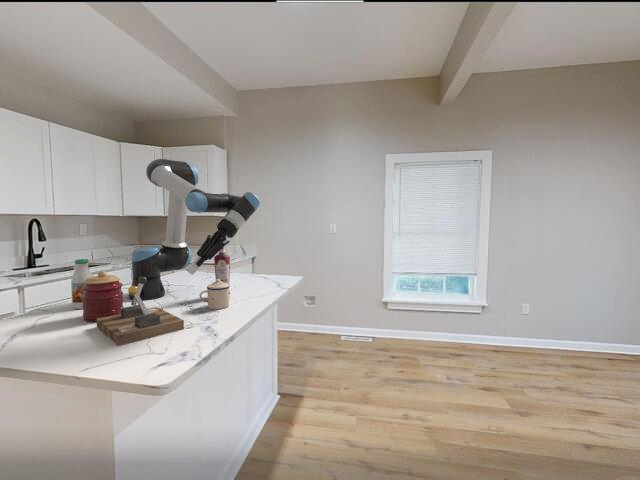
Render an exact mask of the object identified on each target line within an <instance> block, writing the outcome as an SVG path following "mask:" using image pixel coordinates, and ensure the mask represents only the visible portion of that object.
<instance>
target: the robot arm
mask: <svg viewBox="0 0 640 480" xmlns="http://www.w3.org/2000/svg"><path fill="white" fill-rule="evenodd" d="M145 173H146V174H145V175H146V177H147V179H148V180H149V182H150V183H152V184H153V185H154V186H156V187H159V188H162V189H165V190H166V191H167V192H168V205H167V207H168V208H167V222H166V233H165V241H163V242H162V244H161V247H160V246H159V245H149V246H142V247H141V246H140V247H138V248H135V249H134V250H133V251H132V252H131V269H132V270H131V272H132V283H131V286H136V287H138V284H139V282H138V279H139V278H140V277H142V276H144V277H146V278H147V282H146V283H145V284H144V285H143V287H142V290H141V292H140V295H139V296H140V298H141V300H142V301H145V300H153V299H154V300H155V299H158V298H159V299H160V298H162V297H165V295H166V289H165V287H164V285H163V282H162V280H161V278H162V277H161V273H166V272H172V271H180V270H184V269H186V270H185V271H187V272H188V273H189V274H190V275H192V276H193V275H195V273H196V272H197V271H198V270H199V269H200V268H201V266H202V265H204V263H205V262H206V261H211V260H212V258H214V257H215V256H216V255H218V254H219V251H220V250H221V249H222V248H223V247H224V246H225V247H226V246H227V245H229V243H230V242H231V241H230V240H229V238H230V239H233V238H234V237H235V236H236V234H237V233H238V232H239V230H240V229H241V228H243V226H244V224H245V223H247V221H248V220H249V219H250V218H251V217H252V215H253V214H254V213H255V212H256V211H257V209H258V208H259V206H260V205H261V201H260V198H259V197H258V196H257V195H256V194H255V193H253V192H252V191H246V192H245V193H244V194H242V196H238V195H233V194H230V193H211V192H210V193H209V192H205V191H203V190H202V189H200V188H198V187H197V185H198V183H199V179H200V178H199V177H200V175H199V172H198V169H197V168H196V166H195V165H194V164H192V163H191V162H186V161H180V160H173V159H172V160H171V159H165V158H157V159H154V160H151V162H150V163H148V165H147V166H146V170H145ZM188 211H189V212H191V213H197V214H201V213H215V214H216V213H222V214H223V213H225V215H224V216H223V218H222V219H220V221H219V222H218V223H217V225H216V227H217V230H216V231H215V232H214V233H213V234H212V235H211V234H208V235H207V237H206V239H205V240H204V242H203V243H202V245H201V246H200V247H199V249H198V250H197V252H196V255H197V257H196V258H194V260H193V261H192V255H193V254H192V252H191V251H192V250H191V249H190V247H189V246H188V243H187V242H186V241H185V240H186V230H187V229H186V228H187V218H188V215H187V214H188ZM131 286H130V287H131ZM128 298H129V300H133V298H134V296H133V295H131V294H130V293H129V292H128Z"/></svg>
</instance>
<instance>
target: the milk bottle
mask: <svg viewBox="0 0 640 480" xmlns="http://www.w3.org/2000/svg"><path fill="white" fill-rule="evenodd" d="M74 266H75V268H74V269H75V270H74V272H73V273H72V277H71V285H70V286H71V303H72V304H71V305H72V306H71V307H72V309H75V310H83V299H82V296H83V290H82V289H81V288H82V287H83V286H85V284H86V283H84V281H85V280H87V279H88V278H89V277H93V273H92V272H91V270H90V269H89V268H90V267H89V259H88V258H81V259H80V258H79V259H75V260H74Z"/></svg>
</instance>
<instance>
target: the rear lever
mask: <svg viewBox="0 0 640 480" xmlns="http://www.w3.org/2000/svg"><path fill="white" fill-rule="evenodd" d="M138 282H139V284H138V287H137V288H138V292H137V293H138V294H139V295H140V292H141V290H142V287H143V285H144V284H145V283H146V282H147V278H146V277H144V276H142V277H140V278H139V279H138ZM131 300H132V299H131ZM137 304H138V303H137V301H136V299H135V298H133V300H132V301H131V304H130V306H136V305H137Z"/></svg>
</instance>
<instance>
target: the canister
mask: <svg viewBox="0 0 640 480" xmlns="http://www.w3.org/2000/svg"><path fill="white" fill-rule="evenodd" d="M120 280H121V278H120V277H118V276H116V275H113V274H107V272H106V271H104V270H100V271H98V273H97V275H94V276H93V277H89V278H88V279H87V280H85V281H84V283H86V284H85V286H83V287H82V288H81V289H82V290H83V296H82V299H83V309H82V317H83V320H84V321H86V322H91V323H92V322H93V323H95V322H96V323H97V320H96V319H98V318H103V317H108V316H113V315H118V314H121V308H124V301H123V300H124V297H123V295H124V292H123V291H122V286H123V283H121V281H120Z"/></svg>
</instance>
